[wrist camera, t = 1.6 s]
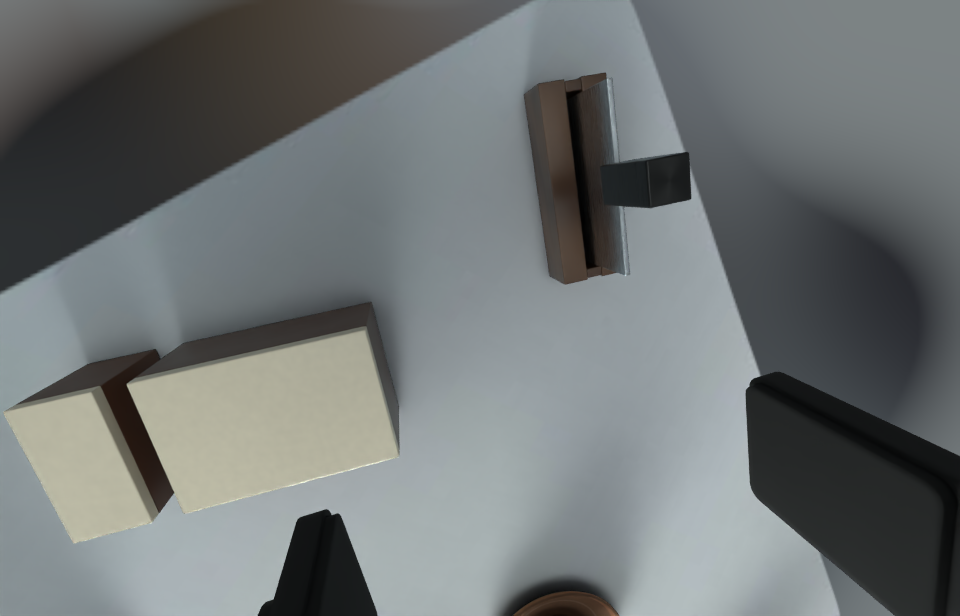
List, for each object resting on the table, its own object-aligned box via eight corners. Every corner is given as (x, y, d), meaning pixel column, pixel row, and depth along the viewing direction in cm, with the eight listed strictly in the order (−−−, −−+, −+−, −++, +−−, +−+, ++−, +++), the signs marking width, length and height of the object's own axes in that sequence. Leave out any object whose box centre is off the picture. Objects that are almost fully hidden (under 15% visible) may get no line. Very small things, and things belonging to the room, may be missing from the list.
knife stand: (523, 94, 29) (537, 83, 26) (585, 83, 29) (606, 72, 26) (549, 276, 32) (564, 284, 29) (605, 264, 32) (625, 271, 30)
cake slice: (87, 363, 28) (1, 412, 22) (156, 348, 28) (90, 391, 22) (138, 472, 30) (72, 544, 24) (200, 457, 31) (152, 523, 24)
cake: (182, 343, 29) (125, 383, 22) (371, 301, 30) (365, 329, 24) (225, 451, 31) (183, 514, 25) (399, 407, 32) (399, 457, 26)
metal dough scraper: (542, 108, 29) (637, 53, 18) (571, 103, 29) (684, 46, 18) (562, 259, 32) (656, 297, 20) (588, 253, 32) (696, 288, 21)
